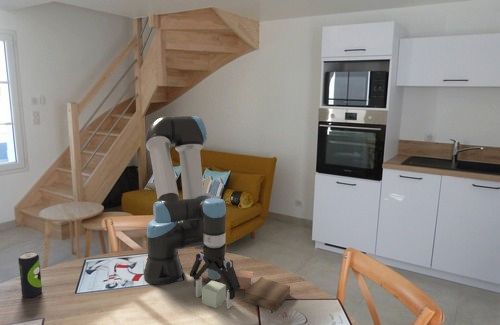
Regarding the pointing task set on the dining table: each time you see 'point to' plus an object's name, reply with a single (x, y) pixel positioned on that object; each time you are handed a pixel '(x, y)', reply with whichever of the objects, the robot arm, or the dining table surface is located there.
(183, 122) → the robot arm
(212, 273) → the cup
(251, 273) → the terracotta cube
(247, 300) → the walnut block
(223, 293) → the pale green cube
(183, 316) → the dining table surface
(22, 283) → the beverage can
